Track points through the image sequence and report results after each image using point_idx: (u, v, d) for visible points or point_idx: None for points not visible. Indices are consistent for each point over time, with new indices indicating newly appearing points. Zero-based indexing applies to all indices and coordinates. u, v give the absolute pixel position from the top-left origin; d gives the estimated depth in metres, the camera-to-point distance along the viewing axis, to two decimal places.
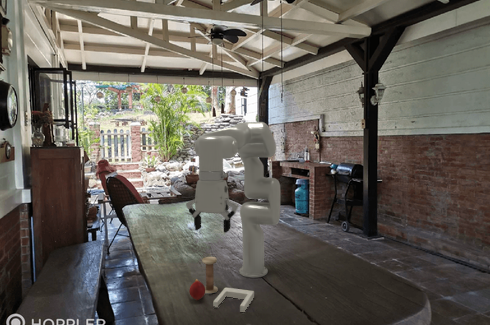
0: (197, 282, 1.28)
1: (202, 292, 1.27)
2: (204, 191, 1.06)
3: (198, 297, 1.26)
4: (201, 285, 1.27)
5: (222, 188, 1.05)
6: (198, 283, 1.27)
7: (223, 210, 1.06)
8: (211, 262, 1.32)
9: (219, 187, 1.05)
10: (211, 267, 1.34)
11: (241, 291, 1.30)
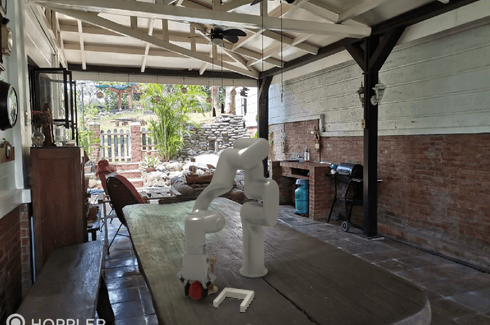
0: (196, 282, 1.28)
1: (201, 292, 1.27)
2: (189, 262, 1.26)
3: (197, 297, 1.26)
4: (200, 285, 1.27)
5: (204, 260, 1.25)
6: (197, 283, 1.27)
7: (205, 279, 1.25)
8: (211, 262, 1.32)
9: (202, 259, 1.24)
10: (211, 267, 1.34)
11: (241, 291, 1.30)
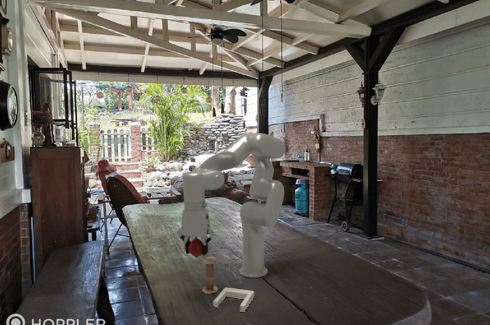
0: (196, 239, 1.27)
1: (201, 249, 1.26)
2: (188, 219, 1.25)
3: (197, 254, 1.26)
4: (200, 242, 1.27)
5: (204, 216, 1.24)
6: (197, 240, 1.27)
7: (205, 235, 1.24)
8: (211, 262, 1.32)
9: (201, 215, 1.23)
10: (211, 267, 1.34)
11: (241, 291, 1.30)
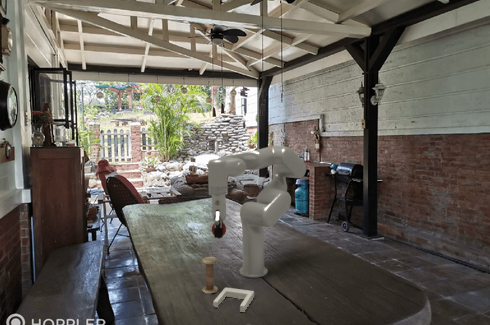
0: None
1: None
2: None
3: (213, 234, 1.37)
4: None
5: (213, 201, 1.33)
6: None
7: (213, 218, 1.33)
8: (211, 262, 1.32)
9: (212, 199, 1.34)
10: (211, 267, 1.34)
11: (241, 291, 1.30)
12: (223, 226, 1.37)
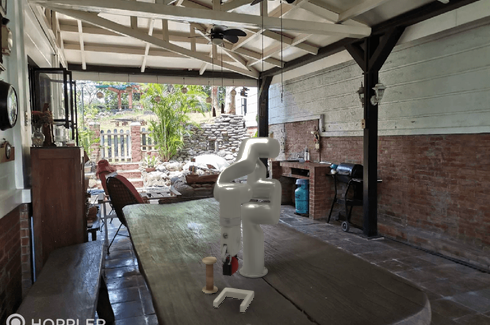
0: None
1: None
2: None
3: None
4: None
5: (221, 233, 1.18)
6: (227, 257, 1.21)
7: None
8: (211, 262, 1.32)
9: None
10: (211, 267, 1.34)
11: (241, 291, 1.30)
12: (234, 262, 1.20)
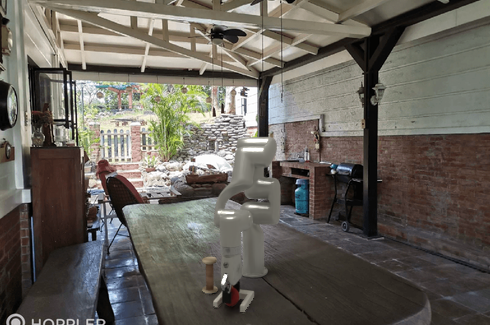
0: None
1: None
2: None
3: None
4: None
5: (221, 262, 1.19)
6: None
7: (221, 282, 1.19)
8: (211, 262, 1.32)
9: None
10: (211, 267, 1.34)
11: (241, 291, 1.30)
12: (235, 295, 1.21)
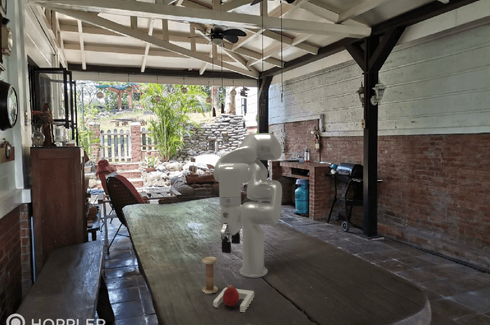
0: (228, 288, 1.22)
1: (225, 299, 1.21)
2: None
3: (224, 301, 1.23)
4: (227, 293, 1.21)
5: (221, 212, 1.19)
6: (227, 289, 1.22)
7: None
8: (211, 262, 1.32)
9: (221, 211, 1.19)
10: (211, 267, 1.34)
11: (241, 291, 1.30)
12: (234, 295, 1.21)
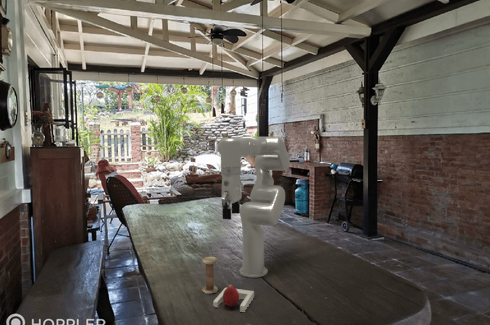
0: (228, 287, 1.23)
1: (224, 299, 1.21)
2: None
3: (224, 301, 1.23)
4: (227, 292, 1.22)
5: (222, 181, 1.27)
6: (227, 289, 1.23)
7: None
8: (211, 262, 1.32)
9: (222, 180, 1.28)
10: (211, 267, 1.34)
11: (241, 291, 1.30)
12: (233, 295, 1.21)
